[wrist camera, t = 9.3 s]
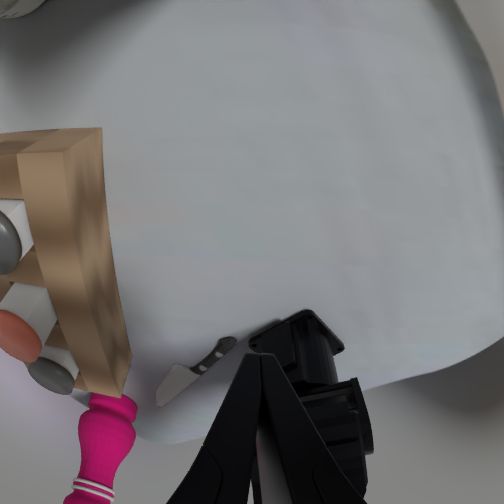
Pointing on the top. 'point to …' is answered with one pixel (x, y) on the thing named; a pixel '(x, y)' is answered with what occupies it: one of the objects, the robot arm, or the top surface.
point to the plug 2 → (55, 369)
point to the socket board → (69, 247)
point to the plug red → (25, 321)
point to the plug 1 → (13, 233)
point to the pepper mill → (102, 447)
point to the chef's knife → (188, 373)
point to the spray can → (17, 7)
